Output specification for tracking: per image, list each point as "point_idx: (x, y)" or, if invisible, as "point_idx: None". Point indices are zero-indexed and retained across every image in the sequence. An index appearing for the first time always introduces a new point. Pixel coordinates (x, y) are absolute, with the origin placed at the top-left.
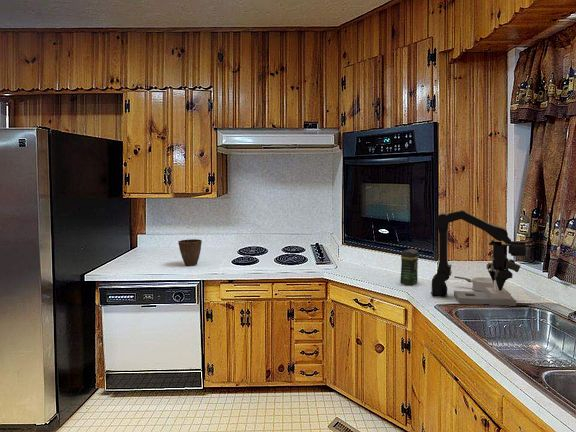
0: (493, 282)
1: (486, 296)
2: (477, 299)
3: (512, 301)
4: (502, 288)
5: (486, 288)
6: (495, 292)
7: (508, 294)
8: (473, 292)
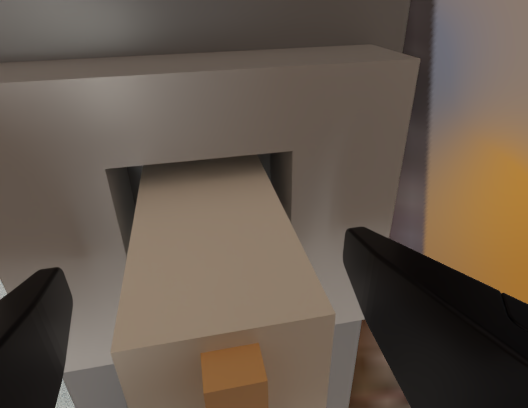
0: (53, 400)
1: None
2: (351, 363)
3: (396, 24)
4: (283, 212)
5: (93, 363)
6: (323, 276)
7: (410, 104)
8: (119, 406)
